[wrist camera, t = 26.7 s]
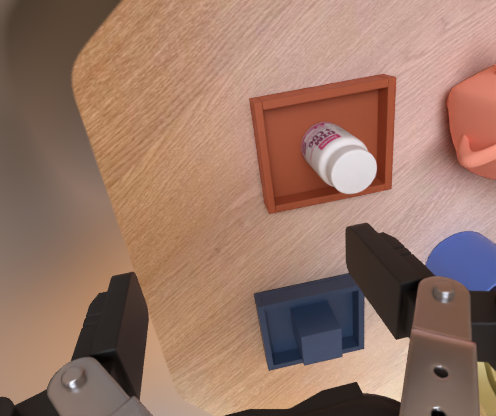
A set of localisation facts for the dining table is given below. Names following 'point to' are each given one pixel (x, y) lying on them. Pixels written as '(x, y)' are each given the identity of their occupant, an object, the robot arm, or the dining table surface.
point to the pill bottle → (338, 157)
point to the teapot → (475, 122)
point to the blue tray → (283, 299)
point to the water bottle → (466, 260)
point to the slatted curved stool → (487, 389)
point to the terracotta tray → (313, 112)
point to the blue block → (316, 332)
